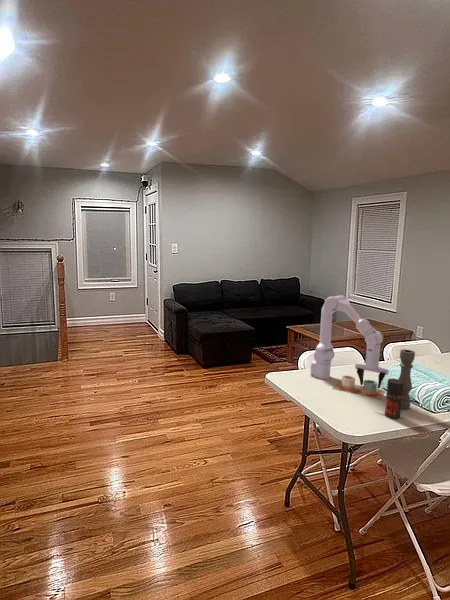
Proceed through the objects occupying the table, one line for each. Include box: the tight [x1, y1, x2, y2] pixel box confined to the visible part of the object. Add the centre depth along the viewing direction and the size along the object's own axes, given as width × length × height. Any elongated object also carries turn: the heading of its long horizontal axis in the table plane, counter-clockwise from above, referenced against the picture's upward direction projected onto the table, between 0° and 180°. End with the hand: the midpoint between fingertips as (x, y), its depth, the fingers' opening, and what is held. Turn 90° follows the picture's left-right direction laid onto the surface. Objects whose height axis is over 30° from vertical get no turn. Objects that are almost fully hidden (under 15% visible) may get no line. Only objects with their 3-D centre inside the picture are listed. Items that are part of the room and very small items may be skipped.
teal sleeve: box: [362, 379, 378, 395], centre depth 189 cm, size 6×6×5 cm
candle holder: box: [398, 349, 416, 411], centre depth 175 cm, size 6×6×25 cm
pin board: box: [331, 381, 386, 400], centre depth 192 cm, size 22×12×5 cm, turn 59°
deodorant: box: [384, 378, 404, 420], centre depth 167 cm, size 6×6×15 cm
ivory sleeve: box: [341, 375, 356, 390], centre depth 194 cm, size 6×6×5 cm
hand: (370, 386), depth 189 cm, fingers open, 7 cm apart
